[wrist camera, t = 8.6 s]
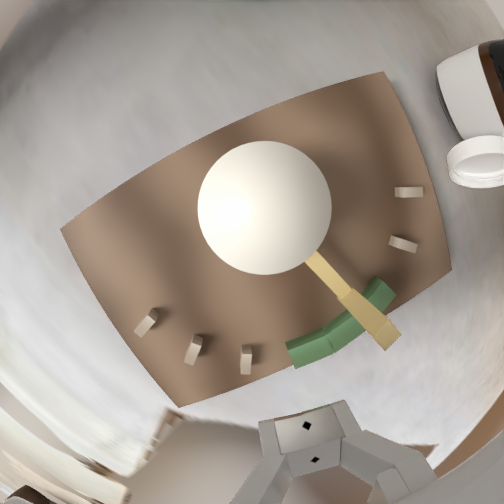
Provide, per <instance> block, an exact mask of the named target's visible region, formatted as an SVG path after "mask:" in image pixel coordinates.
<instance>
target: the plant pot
mask: <svg viewBox="0 0 504 504" xmlns="http://www.w3.org/2000/svg"><path fill="white" fill-rule="evenodd" d="M14 496H16V497H20V498H23V499H25V500H27V501H29V502H31V503H33V504H50V501H49V500H48V499H47V498H46V497H45V496H43V495H42V494H41V493H39V492H38V491H36V490H35V489H33V488H31V487H30V486H27V485H25V486H23V487H21V488H20V489H18V490H17V491H15V492H14V493H13V494H11V495H10V496H9V497H8V498H7V499H9V498H11V497H14ZM7 499H6V500H7Z"/></svg>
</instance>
